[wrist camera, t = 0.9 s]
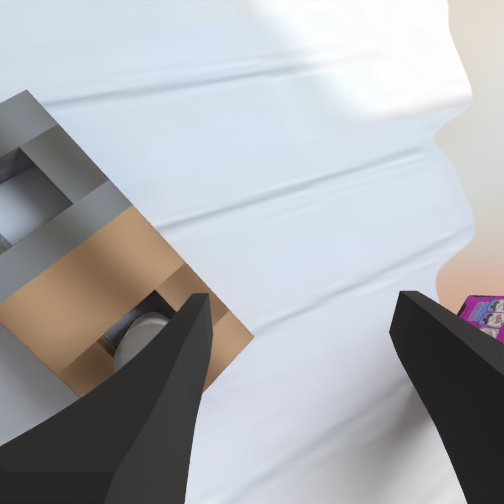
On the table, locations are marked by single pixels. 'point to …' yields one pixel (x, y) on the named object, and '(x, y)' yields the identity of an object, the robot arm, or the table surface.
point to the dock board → (87, 260)
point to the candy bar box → (485, 314)
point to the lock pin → (138, 337)
